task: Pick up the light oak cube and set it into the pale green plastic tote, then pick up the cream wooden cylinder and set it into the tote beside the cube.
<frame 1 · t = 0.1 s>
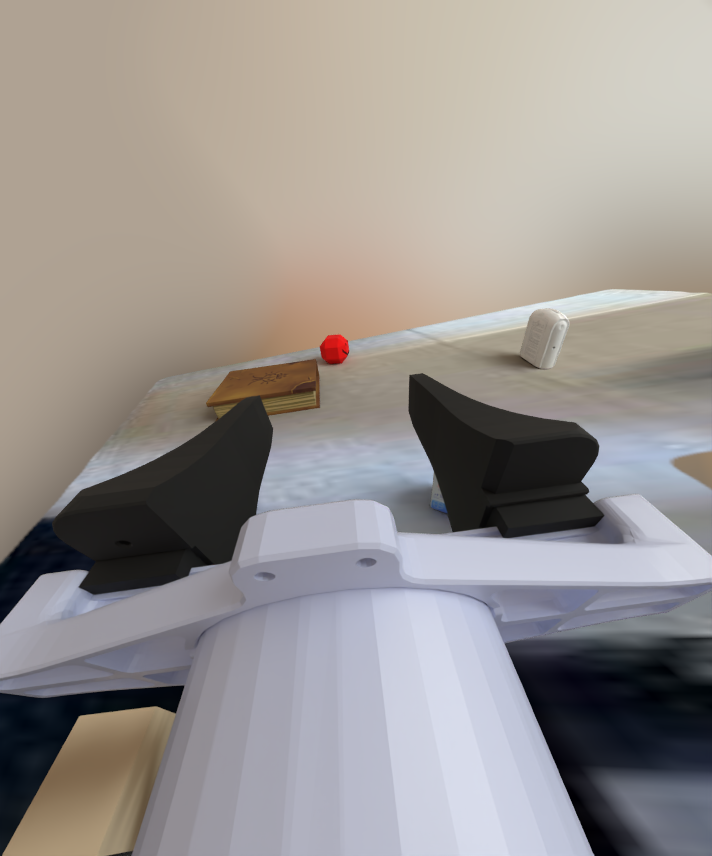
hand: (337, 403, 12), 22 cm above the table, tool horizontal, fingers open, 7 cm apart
oak cube: (138, 780, 17), on the table
medicine box: (465, 508, 32), on the table
ball: (336, 361, 81), on the table
white rounded block: (535, 362, 65), on the table
diary: (274, 398, 65), on the table
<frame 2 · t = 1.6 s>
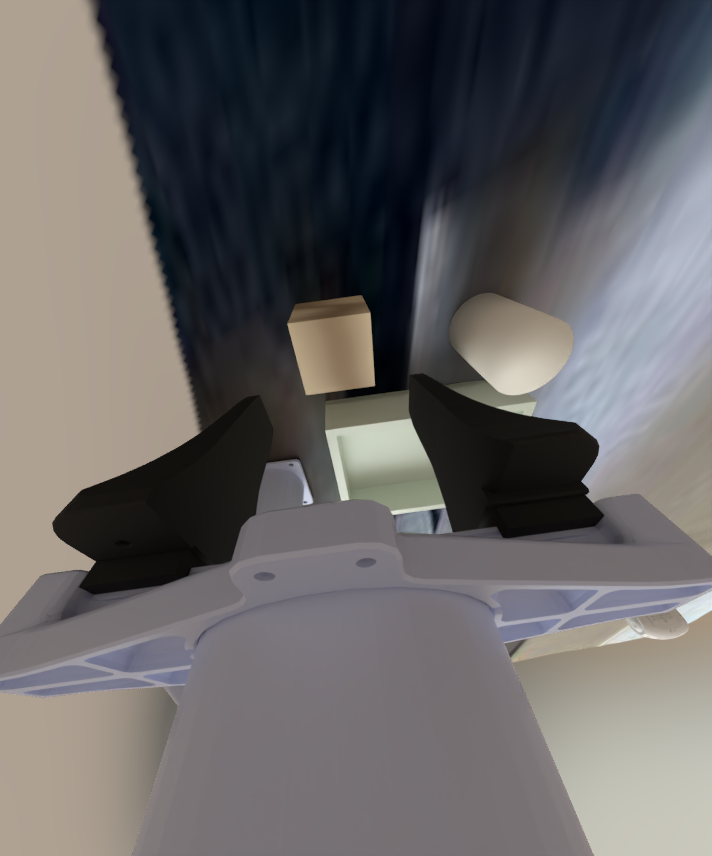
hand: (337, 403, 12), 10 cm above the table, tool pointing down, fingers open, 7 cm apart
oak cube: (333, 333, 21), on the table
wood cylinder: (478, 326, 21), on the table
white rounded block: (615, 572, 61), on the table
tote: (413, 441, 29), on the table
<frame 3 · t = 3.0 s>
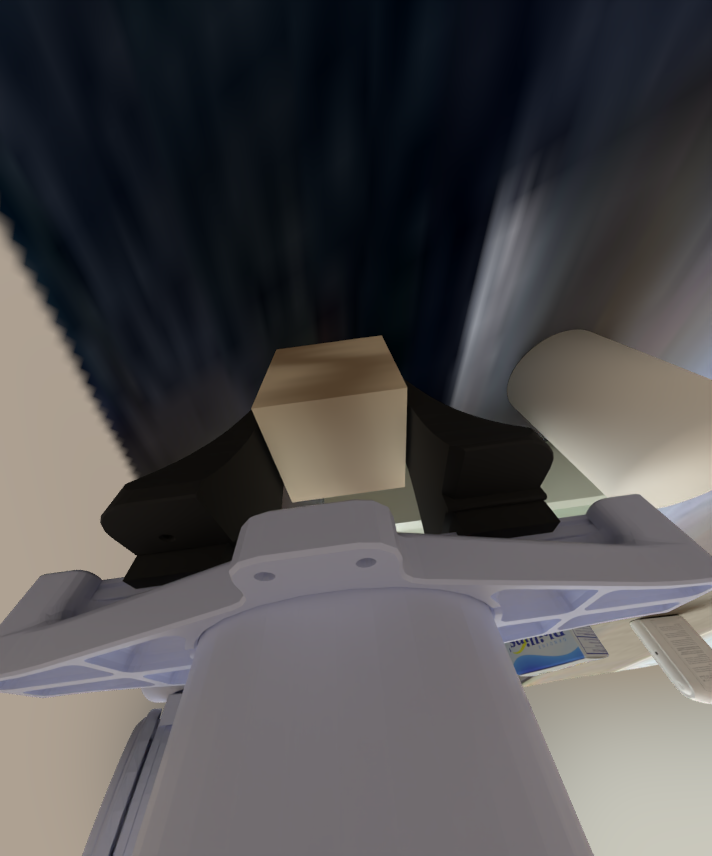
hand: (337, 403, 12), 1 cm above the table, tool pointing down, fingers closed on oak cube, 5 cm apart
oak cube: (337, 388, 14), on the table, touching gripper
medicine box: (512, 574, 32), on the table
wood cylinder: (552, 375, 14), on the table
white rounded block: (652, 617, 54), on the table
tote: (441, 511, 22), on the table
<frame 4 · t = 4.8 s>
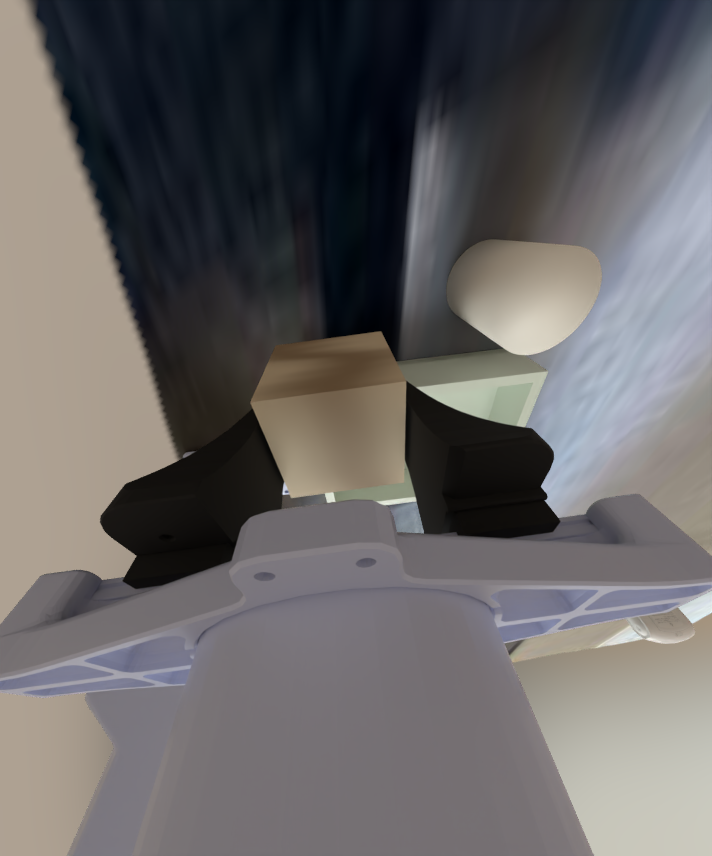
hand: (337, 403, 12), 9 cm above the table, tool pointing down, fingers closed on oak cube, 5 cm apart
oak cube: (336, 385, 14), point 8 cm above the table, touching gripper
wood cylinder: (480, 282, 18), on the table
white rounded block: (617, 573, 59), on the table
tote: (406, 423, 26), on the table
when the fingers open (4 cm above the table, at t = 6.9 s): oak cube drops 1 cm, resting on tote.
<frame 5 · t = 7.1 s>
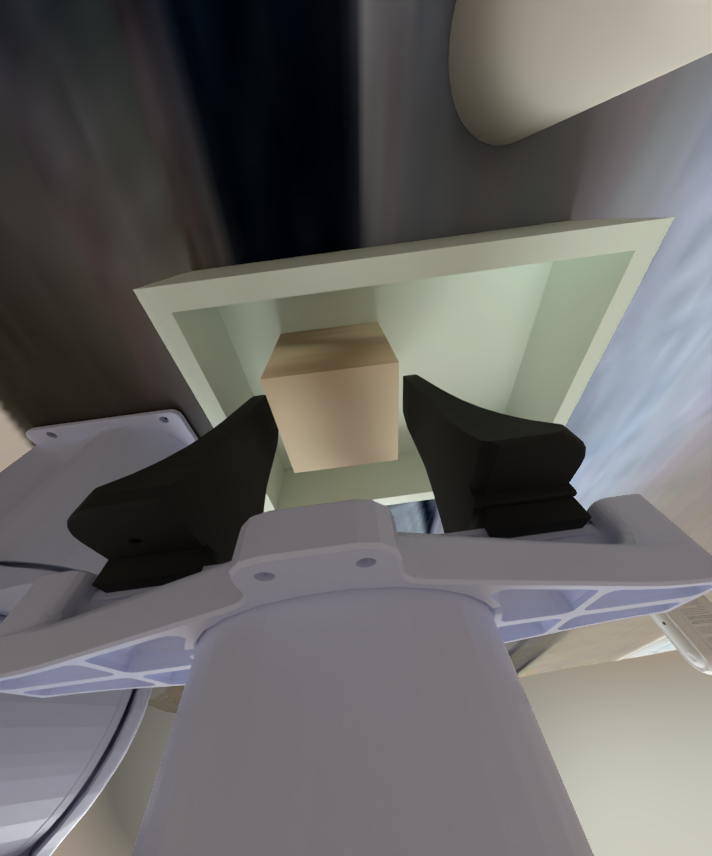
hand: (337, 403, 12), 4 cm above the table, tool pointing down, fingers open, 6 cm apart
oak cube: (336, 372, 15), point 1 cm above the table, touching tote
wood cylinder: (522, 35, 9), on the table
white rounded block: (658, 586, 49), on the table
tote: (385, 378, 16), on the table
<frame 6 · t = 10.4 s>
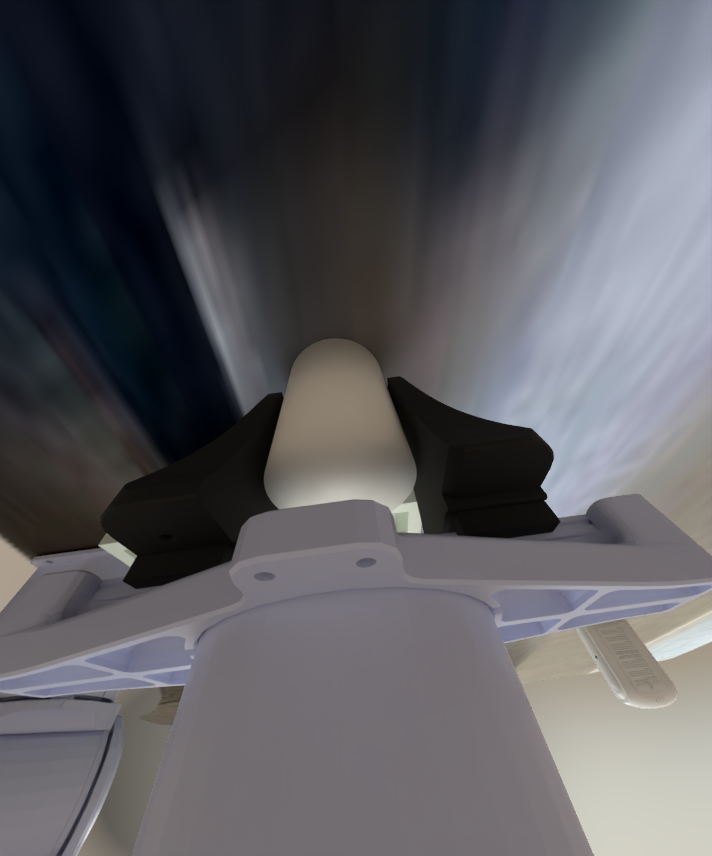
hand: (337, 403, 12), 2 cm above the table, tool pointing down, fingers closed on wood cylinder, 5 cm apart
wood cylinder: (336, 383, 14), on the table, touching gripper
white rounded block: (596, 620, 54), on the table
tote: (299, 518, 21), on the table
when the fingers open (4 cm above the table, at t = 14.0 s): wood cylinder drops 1 cm, resting on tote.
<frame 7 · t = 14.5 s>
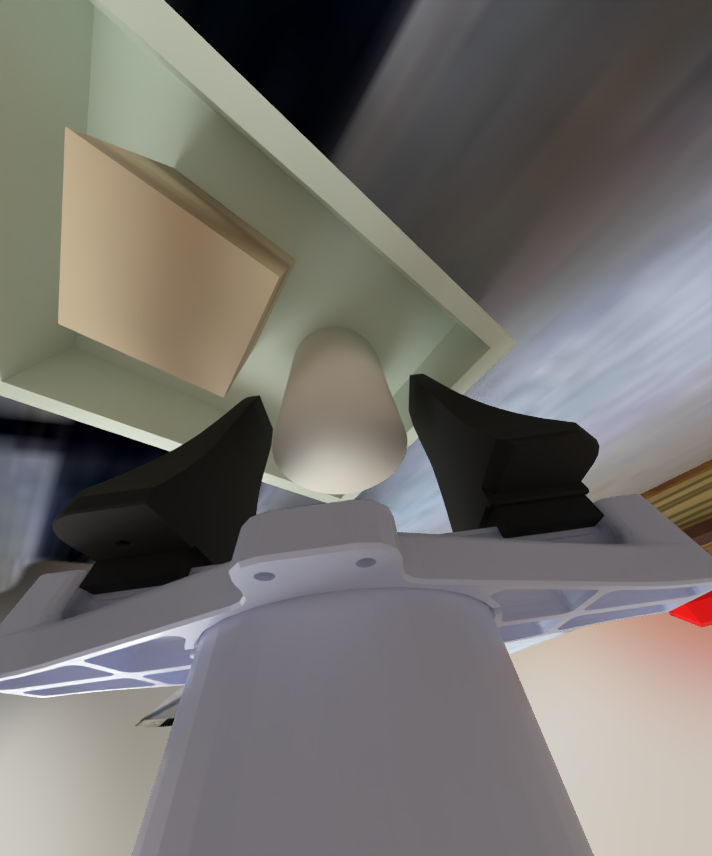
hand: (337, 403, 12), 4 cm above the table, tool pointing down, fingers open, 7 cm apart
oak cube: (221, 276, 12), point 1 cm above the table, touching tote
ball: (662, 565, 43), on the table
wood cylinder: (336, 370, 15), point 1 cm above the table, touching tote
tote: (274, 329, 14), on the table
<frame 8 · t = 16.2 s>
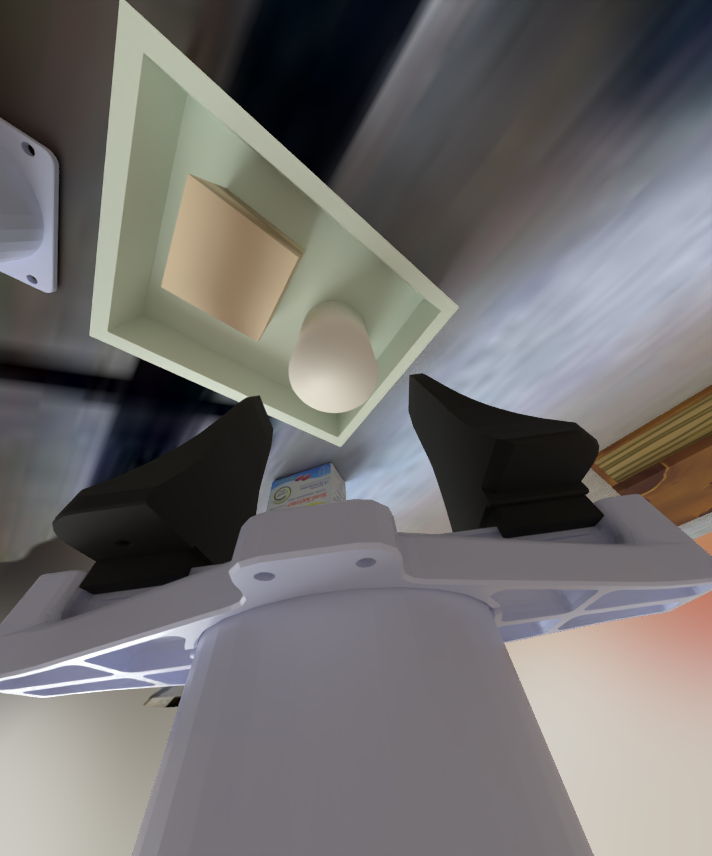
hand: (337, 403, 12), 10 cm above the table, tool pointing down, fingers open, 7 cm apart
oak cube: (252, 261, 17), point 1 cm above the table, touching tote
medicine box: (309, 480, 32), on the table
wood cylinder: (334, 335, 20), point 1 cm above the table, touching tote
tote: (288, 303, 19), on the table
diary: (699, 431, 33), on the table
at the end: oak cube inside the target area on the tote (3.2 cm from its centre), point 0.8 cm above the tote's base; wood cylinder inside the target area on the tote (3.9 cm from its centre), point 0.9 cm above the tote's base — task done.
